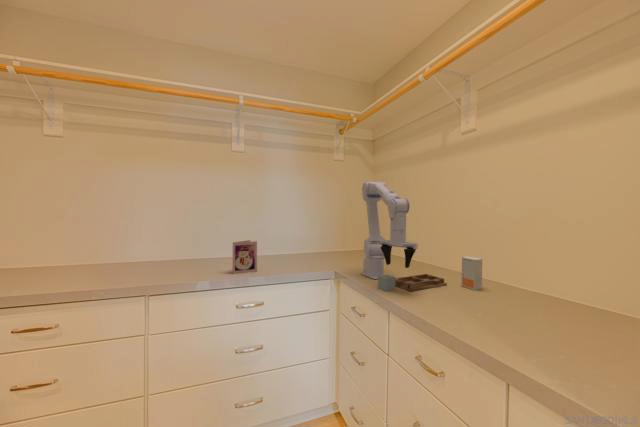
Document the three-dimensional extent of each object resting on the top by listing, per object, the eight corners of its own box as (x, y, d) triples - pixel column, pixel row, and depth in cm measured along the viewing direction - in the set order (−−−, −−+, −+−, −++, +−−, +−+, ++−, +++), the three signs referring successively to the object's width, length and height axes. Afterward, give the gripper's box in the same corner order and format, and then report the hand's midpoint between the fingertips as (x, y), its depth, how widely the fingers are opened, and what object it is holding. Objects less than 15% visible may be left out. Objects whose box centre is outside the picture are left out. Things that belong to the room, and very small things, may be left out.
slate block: (378, 288, 102) (378, 275, 102) (387, 287, 104) (387, 274, 104) (385, 291, 98) (385, 278, 98) (395, 290, 100) (395, 277, 100)
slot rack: (390, 284, 108) (390, 277, 108) (425, 278, 117) (425, 272, 117) (411, 292, 98) (411, 285, 98) (447, 285, 107) (447, 279, 107)
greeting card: (232, 274, 122) (232, 242, 122) (230, 271, 129) (230, 240, 129) (257, 272, 127) (257, 241, 127) (254, 268, 134) (254, 239, 134)
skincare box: (460, 286, 106) (461, 256, 106) (468, 285, 107) (469, 256, 107) (474, 290, 100) (475, 259, 100) (482, 289, 102) (482, 258, 101)
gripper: (375, 229, 101) (375, 264, 101) (412, 232, 91) (412, 270, 92) (384, 228, 106) (384, 261, 106) (420, 231, 97) (419, 267, 97)
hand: (397, 265), depth 99 cm, fingers open, 7 cm apart
